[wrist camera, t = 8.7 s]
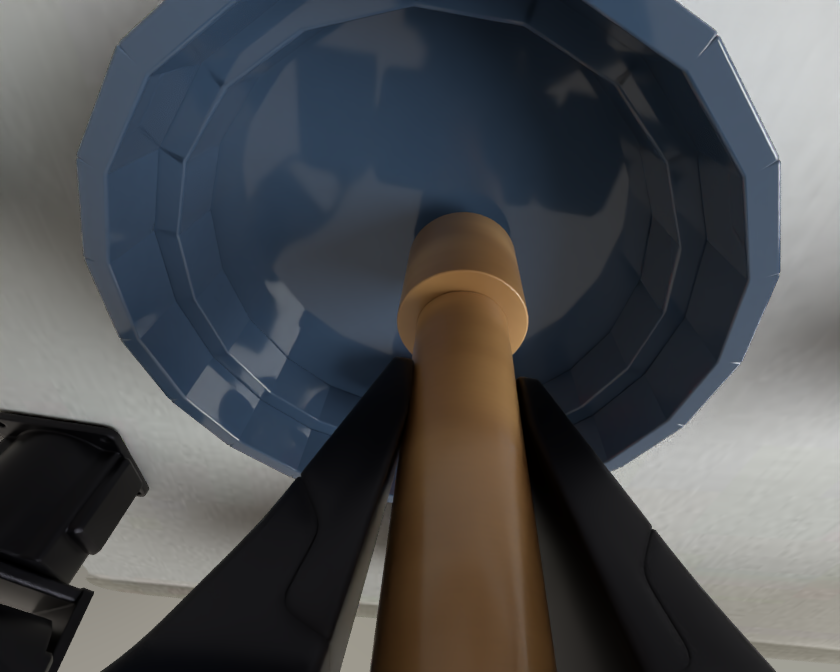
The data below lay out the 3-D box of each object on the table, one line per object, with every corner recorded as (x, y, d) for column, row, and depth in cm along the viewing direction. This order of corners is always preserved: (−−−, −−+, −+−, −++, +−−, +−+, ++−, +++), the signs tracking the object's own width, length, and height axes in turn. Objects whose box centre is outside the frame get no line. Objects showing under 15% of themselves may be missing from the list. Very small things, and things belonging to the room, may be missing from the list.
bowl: (229, 386, 19) (177, 472, 16) (106, -126, 9) (-125, -205, 5) (567, 438, 20) (590, 532, 16) (833, 9, 9) (1055, 18, 6)
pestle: (403, 296, 13) (268, 1006, 4) (417, 202, 11) (204, 1202, 2) (499, 312, 14) (586, 1038, 4) (529, 222, 11) (844, 1259, 2)
